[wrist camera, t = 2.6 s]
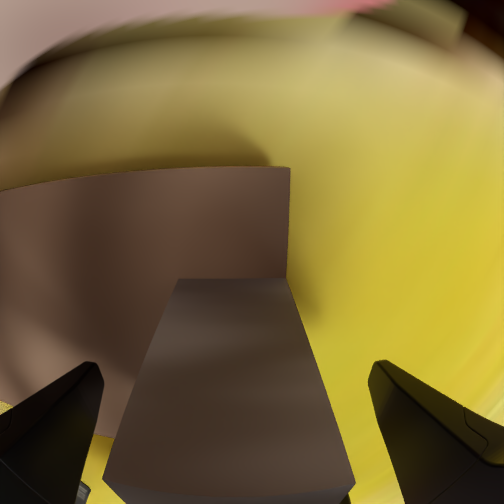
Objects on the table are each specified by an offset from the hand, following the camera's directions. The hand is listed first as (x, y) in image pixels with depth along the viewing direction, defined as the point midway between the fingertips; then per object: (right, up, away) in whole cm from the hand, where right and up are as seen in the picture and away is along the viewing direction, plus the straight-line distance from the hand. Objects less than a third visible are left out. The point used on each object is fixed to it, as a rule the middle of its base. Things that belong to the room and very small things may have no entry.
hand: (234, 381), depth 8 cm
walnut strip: (-11, +1, +2) cm, 11 cm away
